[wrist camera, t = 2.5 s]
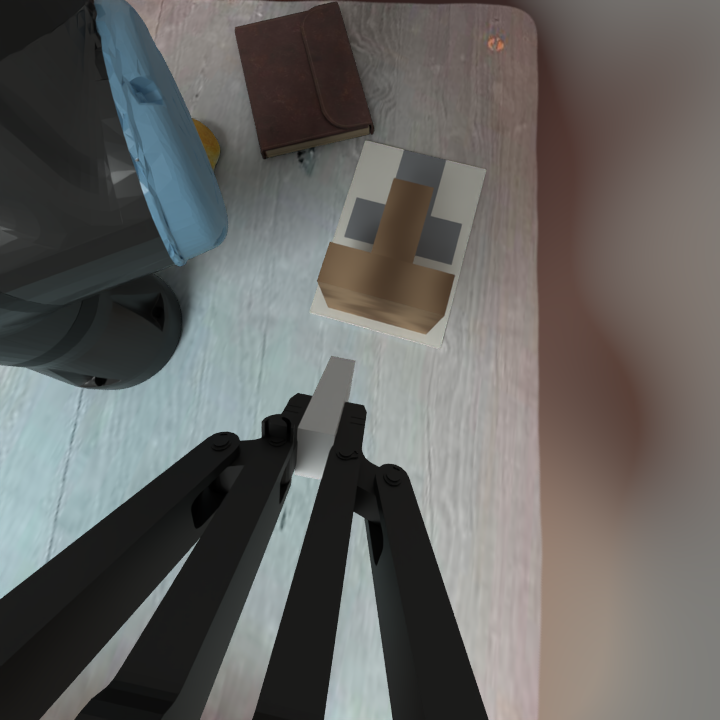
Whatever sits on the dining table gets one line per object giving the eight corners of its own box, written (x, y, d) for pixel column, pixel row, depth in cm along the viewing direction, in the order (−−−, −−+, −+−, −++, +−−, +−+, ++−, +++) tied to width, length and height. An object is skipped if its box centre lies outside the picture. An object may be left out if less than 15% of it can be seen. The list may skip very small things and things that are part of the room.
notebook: (264, 161, 36) (258, 148, 34) (238, 42, 39) (231, 23, 37) (373, 136, 36) (374, 121, 34) (340, 19, 39) (339, -1, 37)
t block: (328, 307, 32) (317, 280, 25) (356, 218, 34) (354, 168, 26) (425, 334, 32) (444, 315, 24) (450, 242, 33) (475, 197, 26)
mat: (310, 313, 33) (309, 311, 32) (365, 143, 36) (365, 140, 35) (439, 349, 32) (440, 348, 32) (484, 172, 35) (486, 169, 34)
